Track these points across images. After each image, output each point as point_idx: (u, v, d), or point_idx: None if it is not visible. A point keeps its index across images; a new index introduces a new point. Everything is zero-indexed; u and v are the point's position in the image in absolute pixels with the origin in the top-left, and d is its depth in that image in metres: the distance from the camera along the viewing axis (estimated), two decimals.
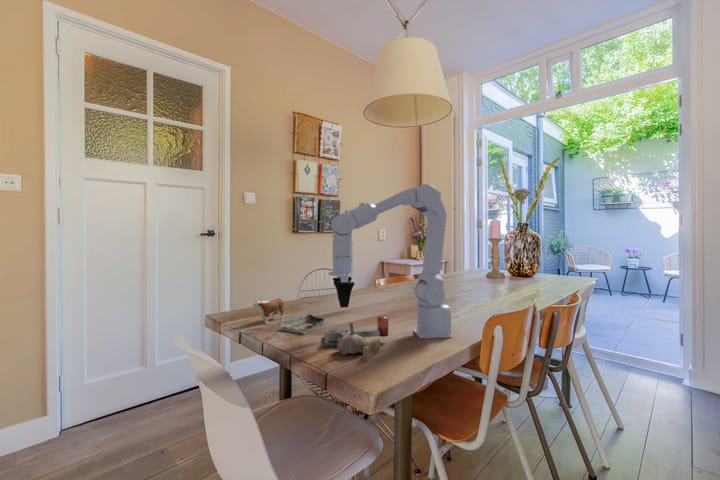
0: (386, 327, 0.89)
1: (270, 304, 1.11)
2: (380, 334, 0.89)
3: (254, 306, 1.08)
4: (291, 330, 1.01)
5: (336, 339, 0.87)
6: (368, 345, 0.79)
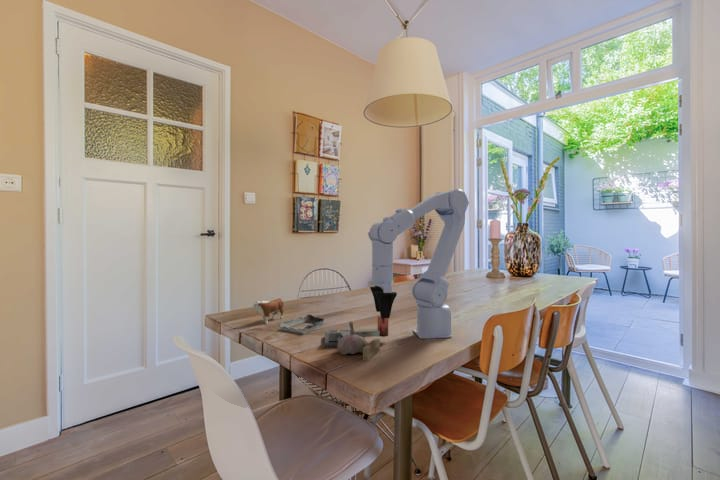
0: (386, 327, 0.89)
1: (270, 304, 1.11)
2: (380, 334, 0.89)
3: (254, 306, 1.08)
4: (291, 330, 1.01)
5: (336, 339, 0.87)
6: (368, 345, 0.79)
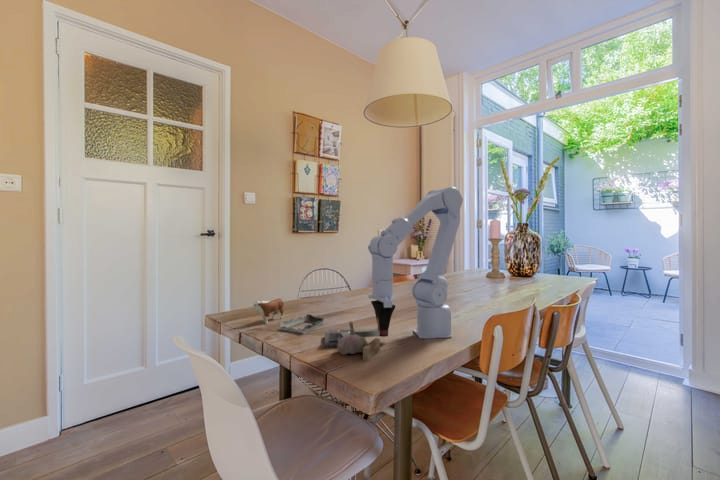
0: None
1: (270, 304, 1.11)
2: (380, 334, 0.89)
3: (254, 306, 1.08)
4: (290, 330, 1.01)
5: (336, 339, 0.87)
6: (368, 345, 0.79)
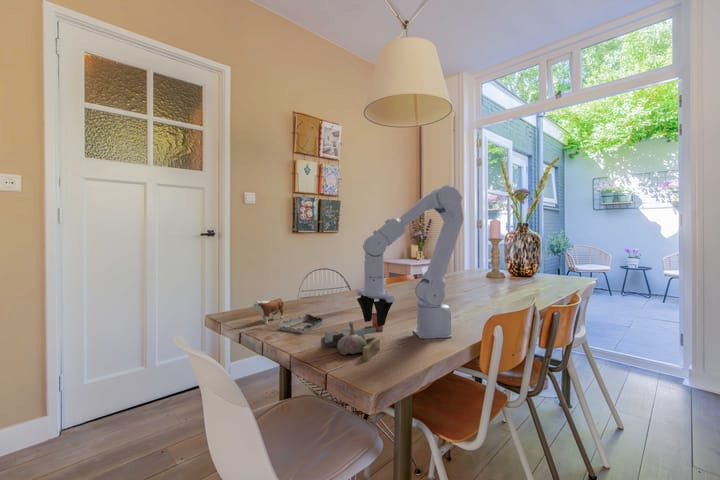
0: None
1: (270, 304, 1.11)
2: (377, 330, 0.93)
3: (254, 306, 1.08)
4: (290, 330, 1.01)
5: None
6: (368, 345, 0.79)
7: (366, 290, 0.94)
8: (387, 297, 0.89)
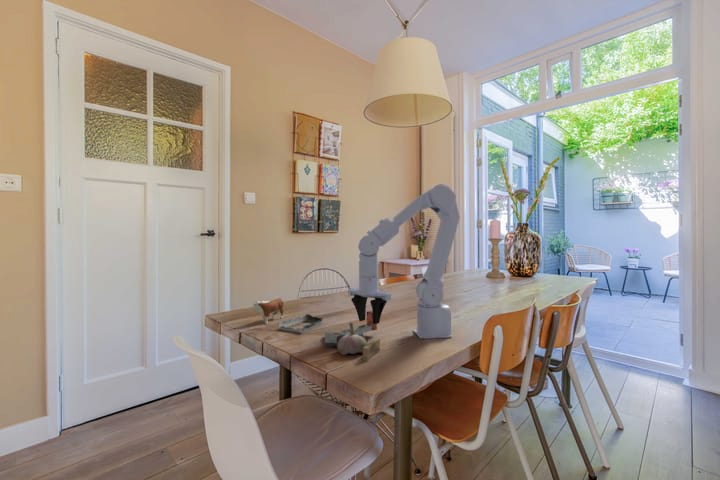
0: None
1: (270, 304, 1.11)
2: (372, 328, 0.95)
3: (254, 306, 1.08)
4: (289, 330, 1.01)
5: None
6: (368, 345, 0.79)
7: (362, 290, 0.95)
8: (385, 295, 0.92)
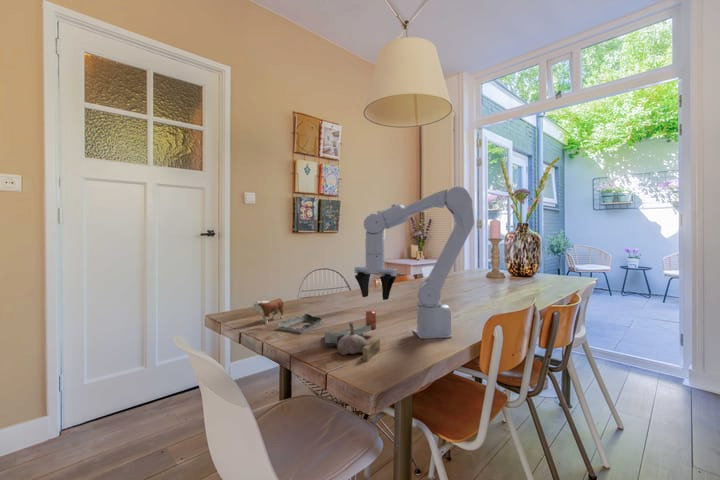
0: (375, 321, 0.96)
1: (270, 304, 1.11)
2: (371, 328, 0.95)
3: (254, 306, 1.08)
4: (289, 329, 1.02)
5: None
6: (368, 345, 0.79)
7: (369, 266, 0.98)
8: (391, 271, 0.96)
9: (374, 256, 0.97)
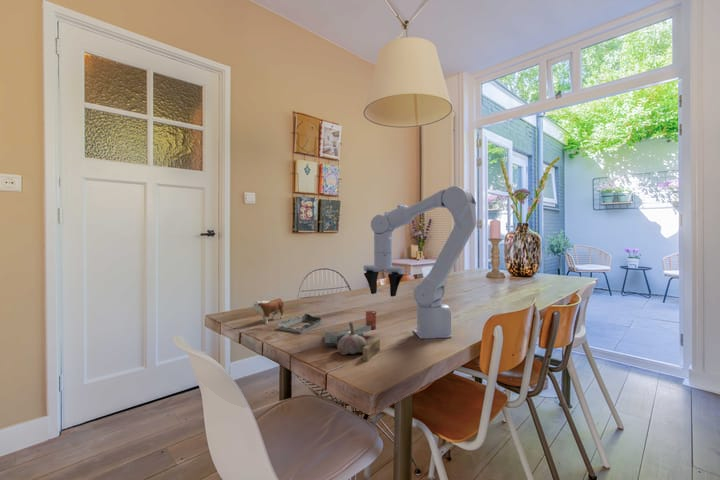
0: (375, 321, 0.96)
1: (270, 304, 1.11)
2: (371, 328, 0.95)
3: (254, 306, 1.08)
4: (288, 329, 1.02)
5: None
6: (368, 345, 0.79)
7: (377, 264, 1.03)
8: (399, 269, 1.00)
9: (382, 255, 1.03)
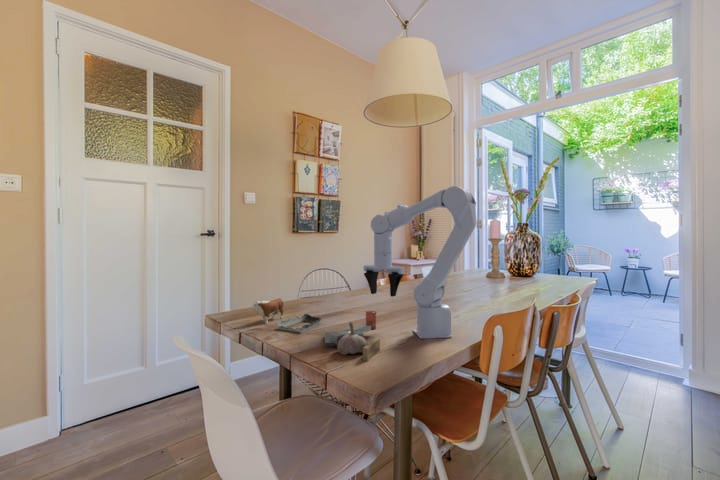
0: (375, 321, 0.96)
1: (270, 304, 1.11)
2: (371, 328, 0.95)
3: (254, 306, 1.08)
4: (288, 329, 1.02)
5: None
6: (368, 345, 0.79)
7: (377, 264, 1.03)
8: (399, 269, 1.00)
9: (382, 255, 1.03)
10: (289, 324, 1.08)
